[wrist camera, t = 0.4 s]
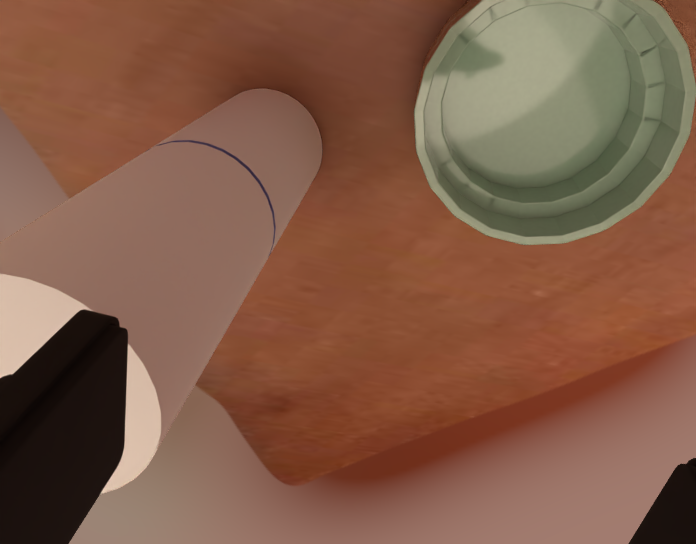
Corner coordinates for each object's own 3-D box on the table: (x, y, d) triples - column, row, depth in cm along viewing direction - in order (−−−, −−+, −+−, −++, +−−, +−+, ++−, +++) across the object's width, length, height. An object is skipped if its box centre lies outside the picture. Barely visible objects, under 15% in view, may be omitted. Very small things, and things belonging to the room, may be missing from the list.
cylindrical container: (345, 136, 37) (211, 385, 15) (283, 221, 40) (94, 533, 18) (247, 63, 36) (-58, 214, 14) (191, 157, 39) (-134, 405, 17)
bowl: (567, -88, 30) (595, -100, 25) (698, 112, 34) (748, 138, 28) (372, 85, 35) (361, 105, 30) (503, 244, 39) (514, 288, 33)
